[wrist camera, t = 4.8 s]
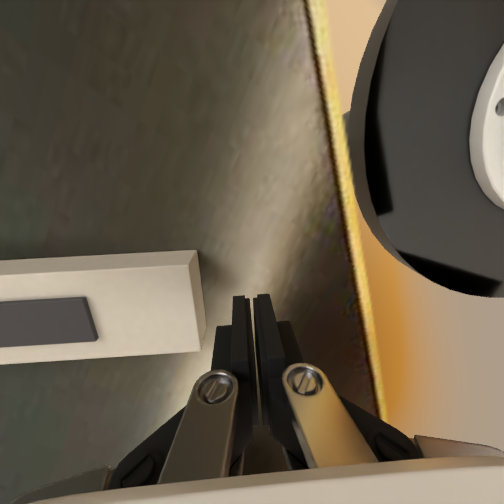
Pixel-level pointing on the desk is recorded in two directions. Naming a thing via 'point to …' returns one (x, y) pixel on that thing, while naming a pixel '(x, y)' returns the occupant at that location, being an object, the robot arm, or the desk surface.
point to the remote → (100, 306)
